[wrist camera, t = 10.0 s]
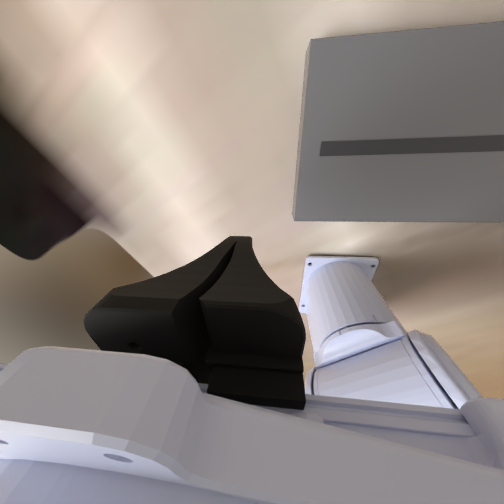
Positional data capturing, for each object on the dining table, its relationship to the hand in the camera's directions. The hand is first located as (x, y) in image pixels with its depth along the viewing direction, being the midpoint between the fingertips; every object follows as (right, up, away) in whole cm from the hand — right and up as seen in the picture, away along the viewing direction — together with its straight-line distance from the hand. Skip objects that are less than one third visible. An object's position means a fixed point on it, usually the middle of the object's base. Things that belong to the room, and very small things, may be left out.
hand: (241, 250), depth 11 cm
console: (+18, +9, +4) cm, 20 cm away
